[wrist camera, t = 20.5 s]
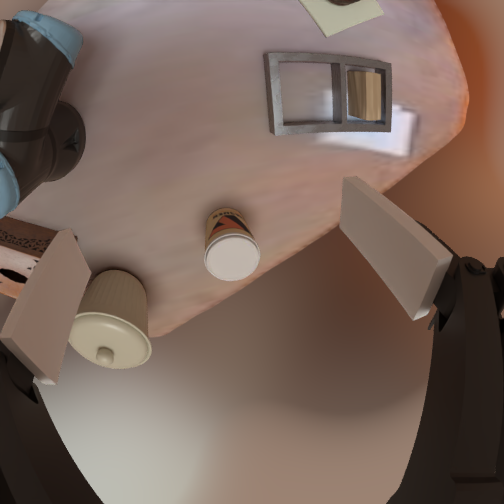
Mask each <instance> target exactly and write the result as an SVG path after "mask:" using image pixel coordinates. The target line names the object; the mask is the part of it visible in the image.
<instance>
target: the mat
mask: <svg viewBox="0 0 504 504" xmlns="http://www.w3.org/2000/svg"><path fill="white" fill-rule="evenodd" d="M299 2H300V3H301V4H302V5H303V7H304V8H305V9H306V11H307V12H308V13H309V15H310V16H311V17H312V19H313V20H314V21H315V23H316V24H317V26H318V27H319V29H320V30H321V31H322V33H323V34H324V36H325V37H329V36H331V35H333V34H335V33H337V32H340V31H342V30H344V29H347V28H349V27H352V26H354V25H357V24H359V23H362V22H364V21H367V20H370V19H372V18H375V17H378V16H381V15H384V13H383V11H382V9H381V8H380V6H379V5H378V3H377V1H376V0H360V1H358V2H355V3H352V4H350V5H347V6H338V5H336V4H334V3H332V2H330V1H328V0H299Z"/></svg>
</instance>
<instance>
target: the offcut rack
mask: <svg viewBox="0 0 504 504" xmlns="http://www.w3.org/2000/svg"><path fill="white" fill-rule="evenodd" d="M263 57H264V68H265V79H266V90H267V101H268V114H269V126H270V132H271V133H272V134H274V135H275V136H276V135H287V134H301V133H319V132H391V117H392V70H391V63H386V62H381V61H376V60H370V59H364V58H357V57H349V56H340V55H330V54H316V53H267V54H264V55H263ZM279 62H305V63H326V64H331V71H332V92H333V121H309V122H291V123H283V114H282V99H281V86H280V74H279ZM345 65H349V66H358V67H366V68H372V69H375V73H377V74H381V120H376V122H373V121H347V99H346V71H345Z"/></svg>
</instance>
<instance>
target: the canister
mask: <svg viewBox="0 0 504 504" xmlns="http://www.w3.org/2000/svg"><path fill="white" fill-rule="evenodd" d="M68 341H69V342H70V344H71V345H72V347H73V348H74V349H75V350H76V351H77V352H78V353H80V354H81V355H82V356H83V357H85V358H86V359H88V360H89V361H91V362H93V363H95V364H98V365H100V366H104V367H108V368H114V369H125V368H132V367H136V366H139V365H141V364H143V363H144V362H146V361H147V360H148V358H149V357H150V355H151V352H152V346H151V343H150V340H149V338H148V315H147V298H146V293H145V290H144V288H143V286H142V285H141V283H140V282H139V281H138V279H136V278H135V277H134V276H132V275H131V274H129V273H127V272H124V271H120V270H109V271H105V272H102V273H101V274H99V275H98V276H97V277H95V278H94V280H93V281H92V283H91V284H90V286H89V288H88V289H87V291H86V293H85V294H84V296H83V298H82V300H81V302H80V305H79V308H78V310H77V313H76V316H75V319H74V322H73V326H72V329H71V332H70V335H69V339H68Z"/></svg>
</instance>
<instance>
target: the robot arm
mask: <svg viewBox="0 0 504 504" xmlns="http://www.w3.org/2000/svg"><path fill="white" fill-rule="evenodd" d="M82 44H83V36H82V35H81V33H80V32H79V31H78V30H77V29H75V28H74V27H72V26H71V25H69V24H67V23H65V22H63V21H61V20H58V19H56V18H53V17H51V16H48V15H43V14H40V13H37V12H34V11H28V10H22V11H19V12H18V13H17V14H16V15H15V16H14V17H13V19H12V21H10V20H0V219H1V218H3V217H4V216H5V215H7V214H8V213H9V212H11V211H13V210H14V209H15V208H16V207H17V205H18V204H19V203H20V202H22V201H23V200H24V199H25V198H26V197H27V196H28V195H29V194H30V193H31V192H32V191H33V190H34V189H36V188H37V187H38V186H39V185H40V184H41V183H43V182H50V181H55V180H58V179H60V178H62V177H64V176H65V175H67V174H68V173H69V172H70V171H71V170H72V169H73V168H74V167H75V166H76V165H77V164H78V162H79V160H80V158H81V156H82V154H83V151H84V147H85V128H84V124H83V121H82V119H81V117H80V115H79V113H78V112H77V111H76V110H75V109H74V108H73V107H72V106H71V105H69V104H67V103H65V102H61V101H58V99H59V97H60V94H61V92H62V89H63V87H64V84H65V82H66V80H67V77H68V75H69V73H70V71H71V69H73V68H74V65H75V63H74V62H75V60H76V58H77V56H78V53H79V51H80V49H81V47H82ZM340 229H341V230H342V231H343V232H344V233H345V234H346V235H347V236H348V238H349V239H350V240H351V241H352V243H353V244H354V245H355V246H356V247H357V249H358V250H359V251H360V252H361V253H362V254H363V256H364V257H365V258H366V259H367V261H368V262H369V263H370V264H371V266H372V267H373V268H374V269H375V270H376V272H377V273H378V274H379V276H380V277H381V278H382V280H383V281H384V282H385V284H386V285H387V286H388V287H389V289H390V290H391V291H392V292H393V294H394V295H395V297H396V298H397V299H398V301H399V302H400V303H401V305H402V306H403V307H404V309H405V310H406V312H407V313H408V314H409V316H410V317H411V319H412V320H413V321H414V320H416V319H418V318H421V317H423V316H425V315H427V314H428V312H429V310H430V308H431V306H432V304H433V303H434V304H435V306H436V307H437V308H438V309H437V311H436V313H435V315H434V317H433V319H432V320H431V323H430V324H429V327H428V330H430V329H431V327H432V326H433V324H434V337H433V349H432V359H431V367H430V373H429V380H428V386H427V392H426V397H425V403H424V407H423V412H422V416H421V421H420V425H419V429H418V433H417V437H416V440H415V443H414V447H413V450H412V454H411V457H410V460H409V463H408V466H407V469H406V471H405V474H404V477H403V479H402V482H401V484H400V487H399V488H398V490H397V491H396V493H395V494H394V495H393V496H392V497H391V498H390V499H389V500H388V502H387V503H386V504H504V318H502V316H501V312H502V310H503V309H504V257H500V258H499V259H498V260H497V262H496V265H495V267H494V268H486V267H485V266H484V265H483V264H482V263H481V262H480V261H478V260H477V259H475V258H472V257H467V256H466V257H462V258H460V257H459V256H458V255H457V254H456V253H455V252H454V251H453V250H452V249H451V248H450V247H449V246H447V245H446V244H445V243H444V242H443V241H442V240H441V239H439V238H438V237H437V236H436V235H435V234H434V233H432V231H431V230H430V229H428V228H427V227H426V226H425V225H423V224H422V223H420V222H418V221H416V220H414V219H412V218H411V217H410V216H408V215H407V214H406V213H405V212H404V211H402V210H401V209H400V208H398V207H397V206H396V205H395V204H394V203H392V202H391V201H390V200H388V199H387V198H386V197H384V196H383V195H382V194H380V193H379V192H378V191H376V190H375V189H374V188H372V187H371V186H370V185H368V184H367V183H365V182H364V181H363V180H361V179H360V178H358V177H357V176H354V177H343V188H342V203H341V216H340ZM90 276H91V271H90V269H89V267H88V265H87V263H86V261H85V259H84V257H83V255H82V252H81V250H80V248H79V246H78V244H77V242H76V239H75V237H74V235H73V232H72V230H71V228H69V229H65V230H62V231H59V232H58V233H57V235H56V236H55V238H54V239H53V240H52V242H51V243H50V245H49V246H48V248H47V249H46V251H45V252H44V254H43V255H42V257H41V259H40V260H39V262H38V263H37V265H36V267H35V268H34V270H33V271H32V273H31V275H30V277H29V278H28V280H27V282H26V283H25V285H24V287H23V289H22V291H21V292H20V294H19V296H18V298H17V300H16V302H15V304H14V306H13V308H12V310H11V312H10V314H9V316H8V318H7V320H6V322H5V325H4V327H3V329H2V331H1V334H0V504H104V503H103V502H102V501H101V499H100V498H99V497H98V496H97V495H96V493H95V492H94V490H93V489H92V487H91V486H90V485H89V484H88V482H87V480H86V479H85V477H84V476H83V474H82V473H81V471H80V470H79V468H78V467H77V465H76V463H75V462H74V460H73V459H72V457H71V455H70V454H69V452H68V450H67V448H66V447H65V445H64V443H63V441H62V439H61V437H60V436H59V434H58V432H57V430H56V428H55V426H54V424H53V422H52V419H51V417H50V415H49V413H48V411H47V409H46V406H45V404H44V402H43V399H42V397H41V394H40V392H39V389H38V387H37V386H36V384H34V383H33V378H34V376H35V377H36V378H37V379H38V380H40V381H41V382H42V383H43V384H49V385H57V382H58V377H59V373H60V369H61V365H62V361H63V357H64V353H65V349H66V346H67V342H68V339H69V335H70V332H71V329H72V326H73V322H74V319H75V316H76V313H77V310H78V308H79V305H80V302H81V299H82V296H83V294H84V291H85V288H86V286H87V283H88V281H89V278H90Z"/></svg>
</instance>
